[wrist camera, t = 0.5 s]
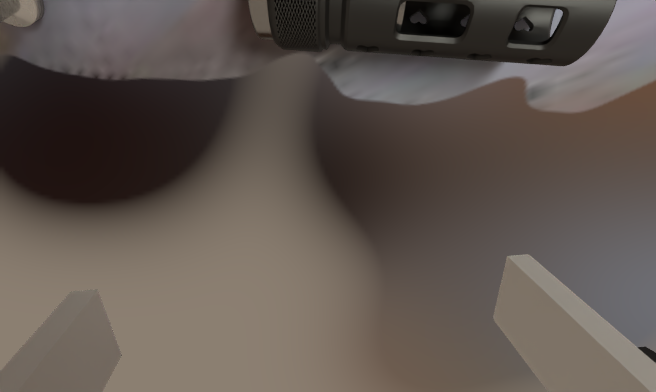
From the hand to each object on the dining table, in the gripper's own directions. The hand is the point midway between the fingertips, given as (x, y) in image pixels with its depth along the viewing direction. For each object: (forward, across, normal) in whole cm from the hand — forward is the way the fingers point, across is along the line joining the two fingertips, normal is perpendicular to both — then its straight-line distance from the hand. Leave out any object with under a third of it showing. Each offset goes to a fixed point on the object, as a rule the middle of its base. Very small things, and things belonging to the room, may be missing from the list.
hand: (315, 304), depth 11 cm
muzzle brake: (+29, +12, +14) cm, 35 cm away
